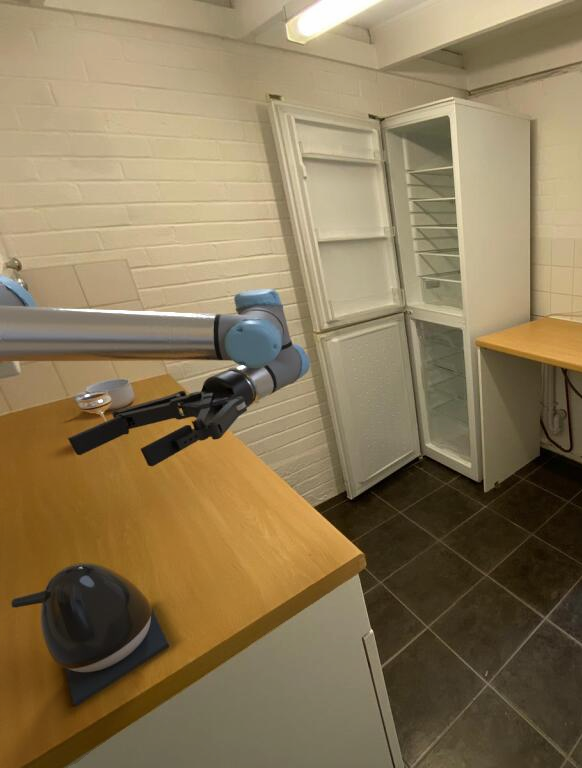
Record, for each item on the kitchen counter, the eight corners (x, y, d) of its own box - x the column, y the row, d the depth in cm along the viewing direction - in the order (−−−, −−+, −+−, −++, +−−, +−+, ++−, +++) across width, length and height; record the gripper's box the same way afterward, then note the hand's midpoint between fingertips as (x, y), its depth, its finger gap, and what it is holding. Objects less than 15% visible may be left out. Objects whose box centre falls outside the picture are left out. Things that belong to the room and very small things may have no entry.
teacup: (137, 396, 144) (128, 375, 141) (139, 406, 137) (129, 384, 134) (83, 410, 136) (71, 387, 133) (82, 421, 128) (69, 397, 125)
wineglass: (127, 424, 125) (110, 388, 120) (123, 434, 120) (105, 396, 115) (98, 431, 122) (79, 394, 117) (92, 441, 117) (72, 403, 112)
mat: (76, 708, 53) (72, 703, 53) (65, 659, 59) (62, 655, 59) (170, 647, 60) (167, 643, 60) (152, 609, 66) (150, 605, 66)
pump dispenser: (64, 651, 59) (8, 573, 53) (155, 603, 66) (114, 529, 60) (66, 705, 53) (2, 623, 47) (167, 646, 59) (122, 568, 53)
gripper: (300, 412, 74) (189, 486, 56) (191, 401, 80) (58, 464, 62) (290, 373, 71) (168, 437, 52) (177, 365, 77) (33, 419, 59)
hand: (108, 452), depth 57 cm, fingers open, 13 cm apart
